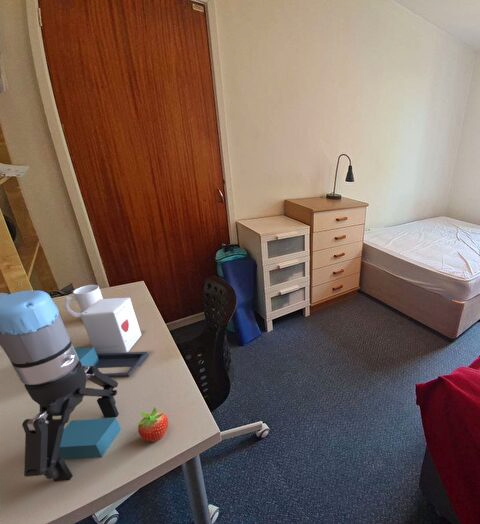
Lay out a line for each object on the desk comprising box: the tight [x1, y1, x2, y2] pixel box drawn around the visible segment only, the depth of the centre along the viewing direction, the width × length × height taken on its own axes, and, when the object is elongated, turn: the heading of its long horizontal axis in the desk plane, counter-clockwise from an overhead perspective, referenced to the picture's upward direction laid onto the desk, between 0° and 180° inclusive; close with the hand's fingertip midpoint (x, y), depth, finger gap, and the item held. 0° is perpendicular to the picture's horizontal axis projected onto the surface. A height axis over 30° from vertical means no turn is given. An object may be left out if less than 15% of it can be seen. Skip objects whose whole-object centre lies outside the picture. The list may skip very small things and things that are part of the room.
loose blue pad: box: [58, 417, 122, 461], centre depth 59 cm, size 9×6×5 cm, turn 95°
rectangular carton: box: [79, 297, 142, 354], centre depth 87 cm, size 9×9×15 cm
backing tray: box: [95, 351, 149, 379], centre depth 80 cm, size 24×9×2 cm, turn 95°
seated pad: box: [74, 347, 99, 366], centre depth 78 cm, size 9×6×5 cm, turn 95°
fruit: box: [136, 406, 169, 442], centre depth 61 cm, size 5×5×8 cm
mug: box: [64, 284, 104, 318], centre depth 99 cm, size 10×7×12 cm, turn 134°
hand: (91, 447), depth 60 cm, fingers open, 13 cm apart
